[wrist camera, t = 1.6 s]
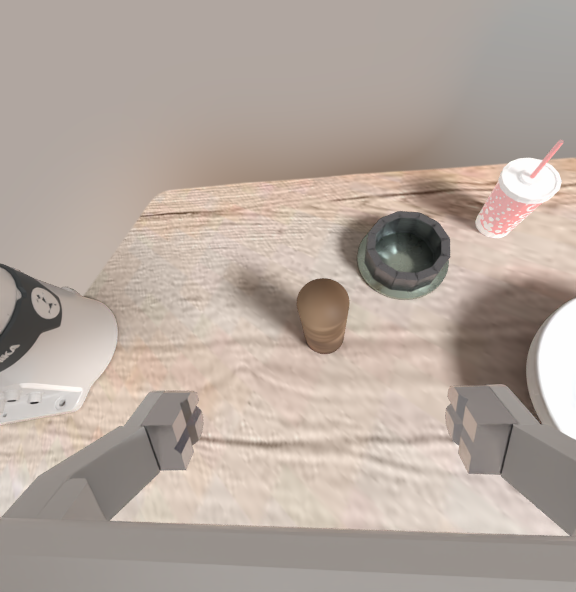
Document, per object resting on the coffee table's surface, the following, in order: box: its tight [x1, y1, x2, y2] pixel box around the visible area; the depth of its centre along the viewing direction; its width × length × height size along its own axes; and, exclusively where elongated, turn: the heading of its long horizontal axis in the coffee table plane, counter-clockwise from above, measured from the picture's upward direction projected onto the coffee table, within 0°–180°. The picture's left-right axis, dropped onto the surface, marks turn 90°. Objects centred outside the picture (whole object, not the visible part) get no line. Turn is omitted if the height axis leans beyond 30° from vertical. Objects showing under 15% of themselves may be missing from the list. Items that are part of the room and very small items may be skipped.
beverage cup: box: [475, 140, 564, 238], centre depth 37 cm, size 6×6×14 cm
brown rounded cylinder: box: [297, 278, 349, 354], centre depth 35 cm, size 5×5×12 cm
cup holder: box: [357, 211, 450, 300], centre depth 42 cm, size 12×12×4 cm
